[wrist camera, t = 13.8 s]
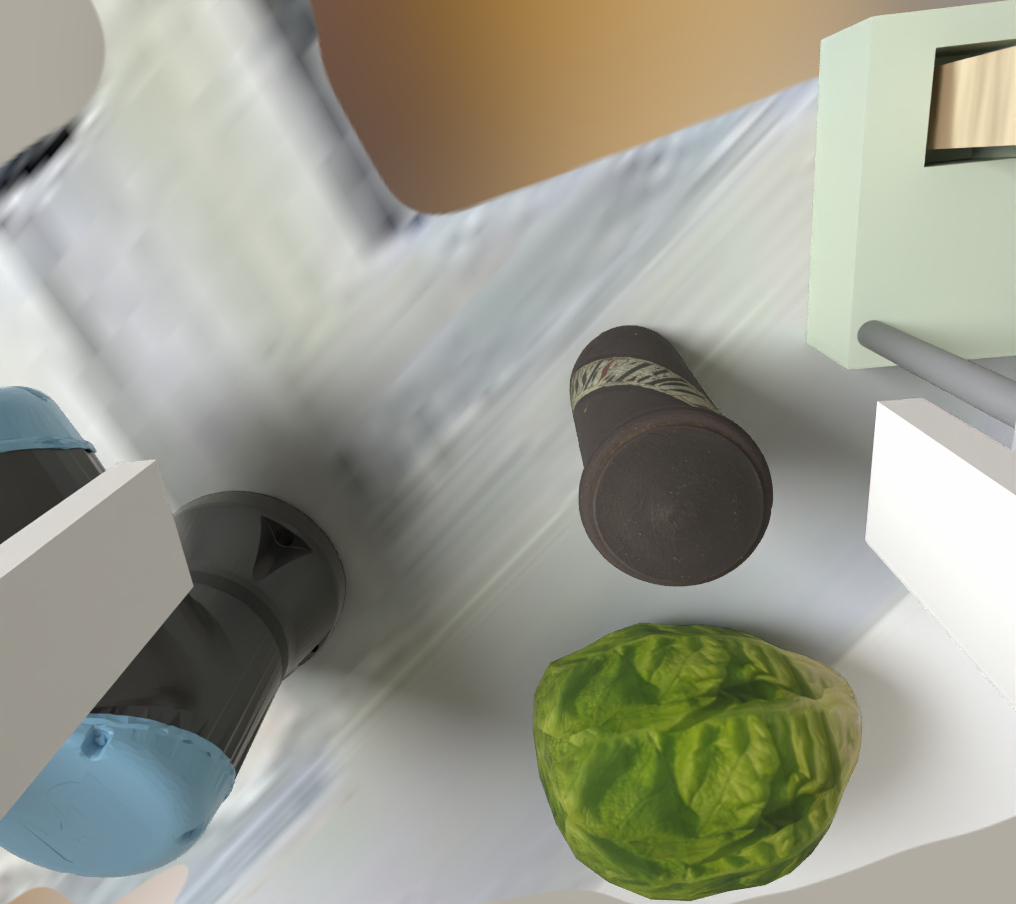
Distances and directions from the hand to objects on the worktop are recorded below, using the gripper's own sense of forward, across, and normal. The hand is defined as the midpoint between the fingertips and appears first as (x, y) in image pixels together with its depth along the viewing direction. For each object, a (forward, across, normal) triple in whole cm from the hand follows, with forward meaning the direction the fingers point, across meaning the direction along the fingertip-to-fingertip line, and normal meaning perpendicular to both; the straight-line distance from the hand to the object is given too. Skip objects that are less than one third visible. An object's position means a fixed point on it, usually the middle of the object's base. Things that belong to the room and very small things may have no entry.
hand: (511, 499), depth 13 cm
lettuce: (+37, +9, -33) cm, 50 cm away
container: (+37, +6, -9) cm, 38 cm away
